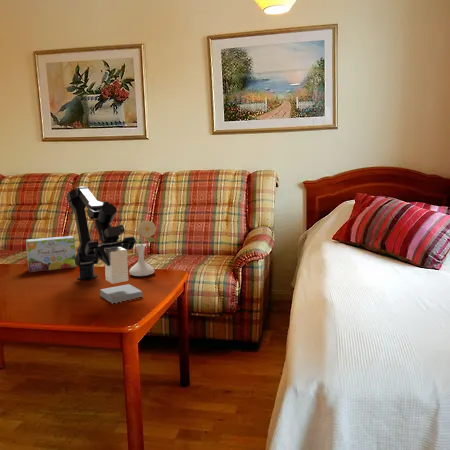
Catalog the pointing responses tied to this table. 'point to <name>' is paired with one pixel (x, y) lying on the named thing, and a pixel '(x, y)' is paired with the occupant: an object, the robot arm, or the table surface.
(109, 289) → the grey block
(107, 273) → the cream block
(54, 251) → the snack box
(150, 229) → the flower in vase
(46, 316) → the table surface
